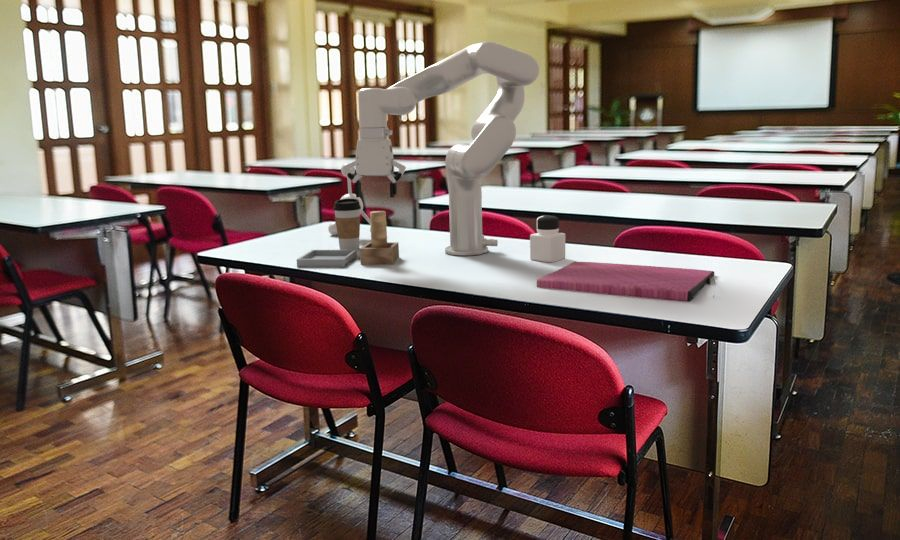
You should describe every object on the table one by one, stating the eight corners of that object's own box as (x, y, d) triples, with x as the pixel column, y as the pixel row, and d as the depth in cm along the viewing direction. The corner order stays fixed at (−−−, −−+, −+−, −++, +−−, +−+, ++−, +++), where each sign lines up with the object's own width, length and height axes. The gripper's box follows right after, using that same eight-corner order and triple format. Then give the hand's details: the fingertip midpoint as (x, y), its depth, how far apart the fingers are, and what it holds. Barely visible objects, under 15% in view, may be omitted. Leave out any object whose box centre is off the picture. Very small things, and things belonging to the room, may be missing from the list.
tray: (357, 256, 225) (357, 249, 225) (344, 266, 212) (344, 259, 212) (312, 256, 227) (312, 249, 227) (297, 266, 214) (296, 259, 214)
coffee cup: (365, 245, 242) (363, 198, 238) (360, 251, 233) (357, 201, 230) (339, 246, 242) (336, 198, 239) (332, 251, 234) (329, 202, 231)
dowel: (389, 259, 220) (387, 210, 217) (386, 262, 216) (383, 213, 213) (374, 259, 221) (372, 210, 218) (370, 262, 217) (368, 213, 214)
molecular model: (331, 235, 265) (325, 162, 260) (386, 234, 262) (381, 160, 257) (314, 245, 247) (307, 166, 242) (374, 243, 245) (368, 164, 239)
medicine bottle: (565, 258, 215) (566, 215, 212) (550, 263, 210) (550, 219, 207) (545, 255, 219) (544, 213, 217) (529, 259, 214) (529, 217, 212)
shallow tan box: (399, 257, 222) (398, 242, 221) (392, 264, 213) (391, 248, 212) (368, 257, 223) (367, 242, 222) (360, 264, 215) (359, 248, 214)
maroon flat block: (535, 273, 183) (574, 254, 206) (535, 289, 184) (574, 268, 207) (709, 287, 164) (731, 264, 187) (709, 305, 165) (730, 280, 188)
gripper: (407, 133, 213) (408, 195, 217) (346, 134, 216) (349, 195, 219) (401, 134, 206) (403, 198, 209) (338, 135, 208) (341, 198, 212)
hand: (375, 196), depth 214 cm, fingers open, 9 cm apart
